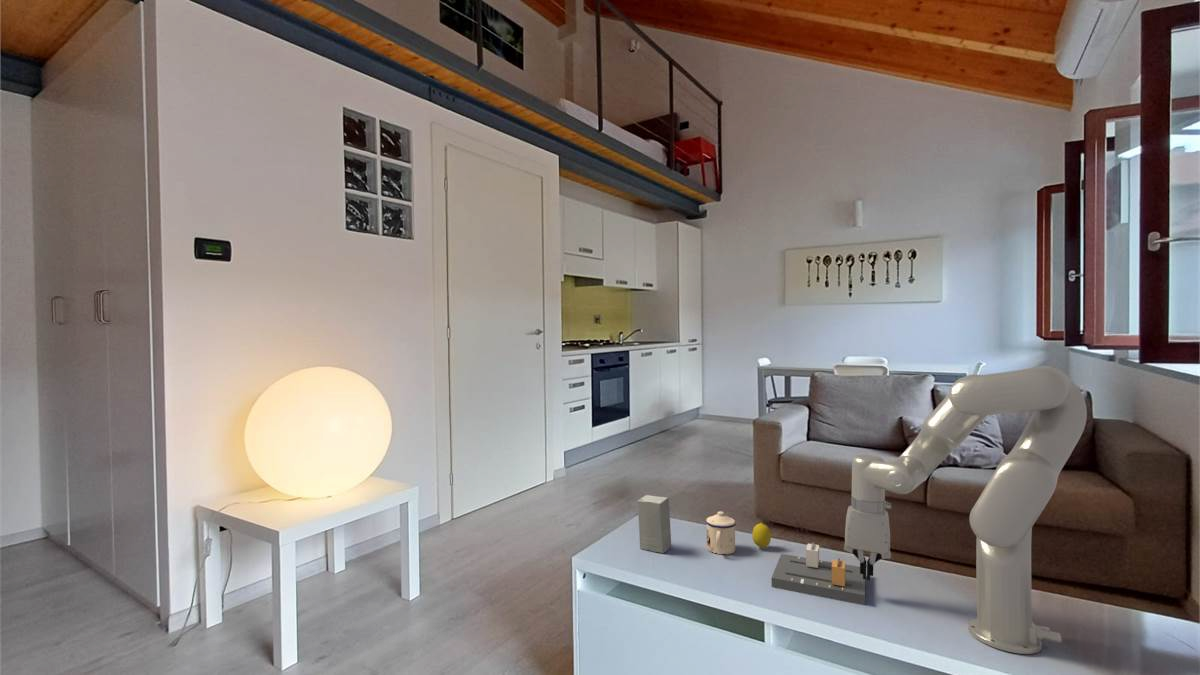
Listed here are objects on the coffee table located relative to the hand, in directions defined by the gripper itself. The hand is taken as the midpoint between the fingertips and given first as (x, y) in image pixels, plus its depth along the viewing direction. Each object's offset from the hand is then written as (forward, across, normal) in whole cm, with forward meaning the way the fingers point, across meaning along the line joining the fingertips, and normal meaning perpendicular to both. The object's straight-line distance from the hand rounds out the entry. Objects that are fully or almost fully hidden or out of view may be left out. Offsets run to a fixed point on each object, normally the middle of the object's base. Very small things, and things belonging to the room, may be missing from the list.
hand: (866, 577), depth 134 cm
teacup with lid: (+6, +40, -13) cm, 43 cm away
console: (+5, +11, -4) cm, 13 cm away
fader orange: (+2, +6, 0) cm, 7 cm away
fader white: (+3, +13, -9) cm, 16 cm away
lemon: (+6, +29, -21) cm, 37 cm away
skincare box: (+7, +59, -6) cm, 60 cm away
